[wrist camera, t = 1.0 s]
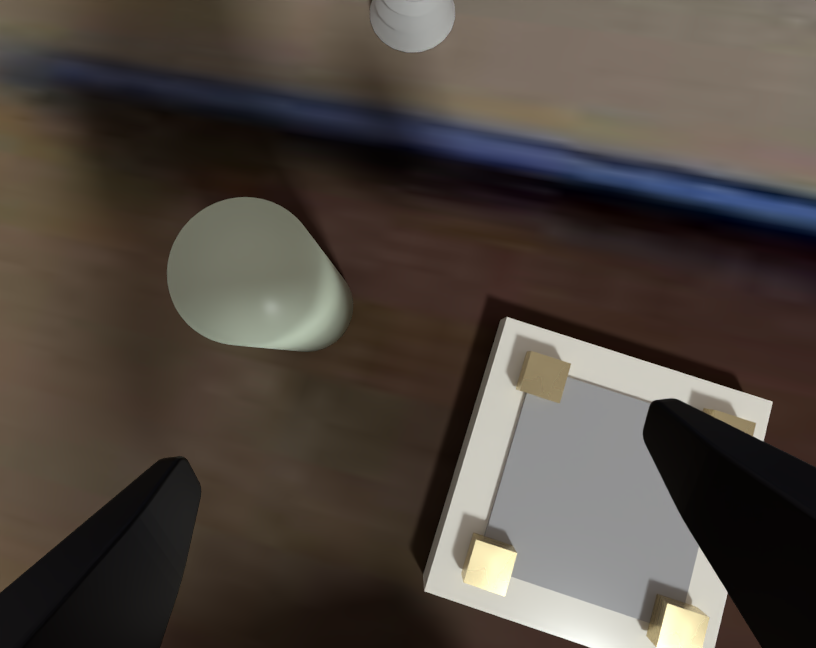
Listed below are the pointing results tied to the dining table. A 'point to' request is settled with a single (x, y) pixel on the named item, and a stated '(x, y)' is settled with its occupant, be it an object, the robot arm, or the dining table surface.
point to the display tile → (578, 498)
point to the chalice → (412, 22)
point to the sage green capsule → (257, 279)
